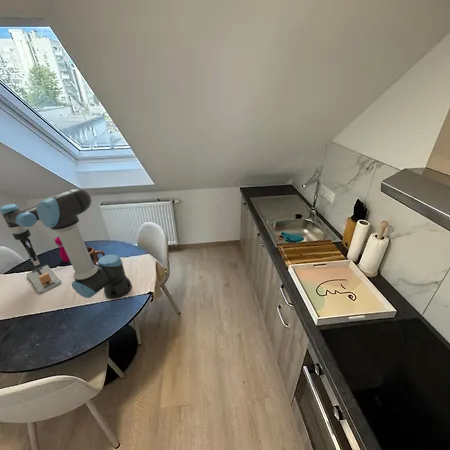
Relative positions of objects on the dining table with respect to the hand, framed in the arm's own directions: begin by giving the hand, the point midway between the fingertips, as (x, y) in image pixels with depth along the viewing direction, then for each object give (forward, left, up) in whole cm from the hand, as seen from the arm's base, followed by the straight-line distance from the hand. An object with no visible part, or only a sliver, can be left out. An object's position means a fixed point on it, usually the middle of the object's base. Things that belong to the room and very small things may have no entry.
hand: (37, 264), depth 152 cm
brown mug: (-11, -25, -12) cm, 30 cm away
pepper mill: (+11, -18, -12) cm, 24 cm away
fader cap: (-6, 0, -10) cm, 11 cm away
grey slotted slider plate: (0, 0, -12) cm, 12 cm away
